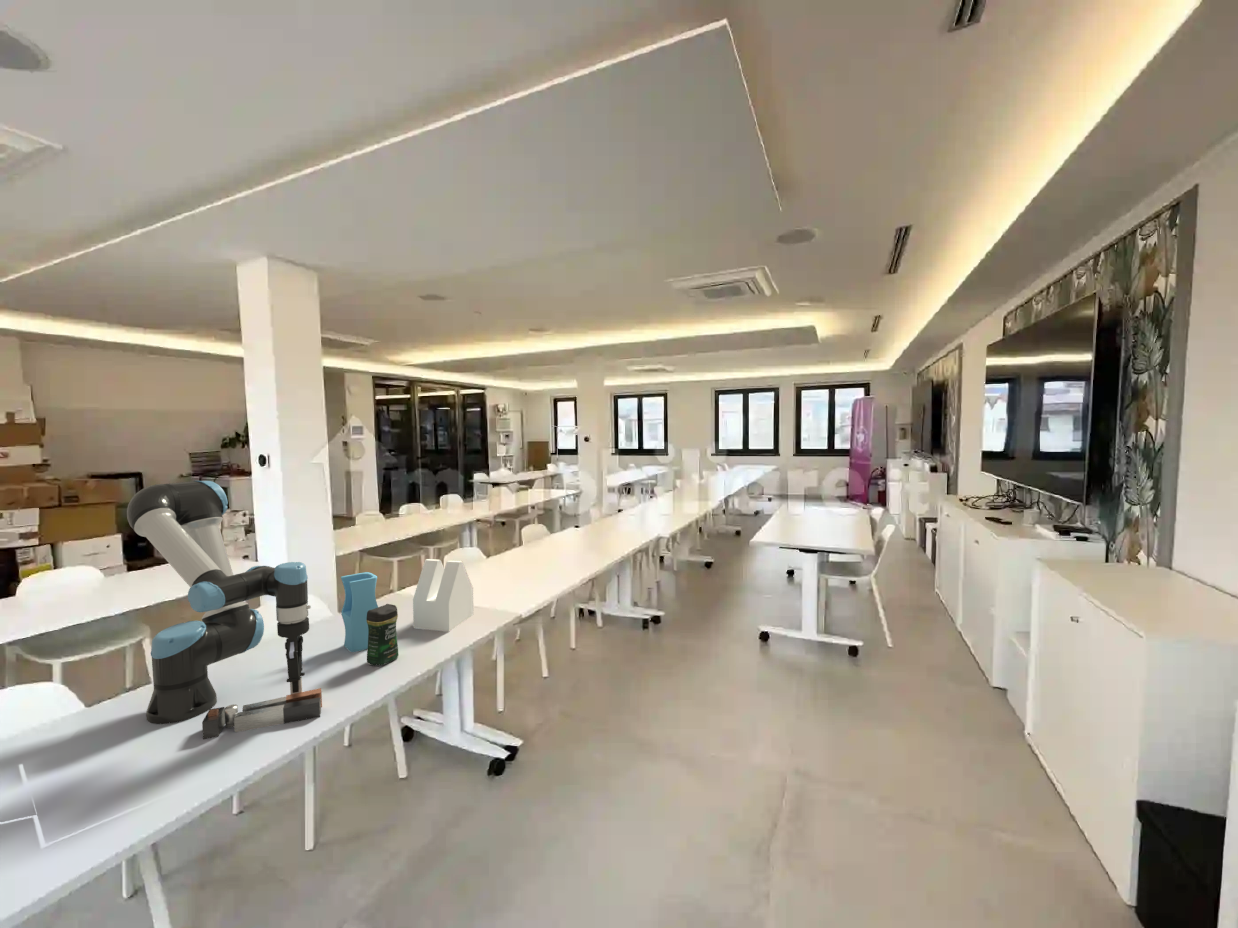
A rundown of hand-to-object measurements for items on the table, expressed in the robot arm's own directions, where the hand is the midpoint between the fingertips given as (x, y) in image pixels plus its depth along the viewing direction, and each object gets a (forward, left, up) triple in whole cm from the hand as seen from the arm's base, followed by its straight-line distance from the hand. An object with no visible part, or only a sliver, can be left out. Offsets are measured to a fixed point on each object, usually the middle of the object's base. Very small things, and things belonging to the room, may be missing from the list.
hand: (296, 701), depth 152 cm
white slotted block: (+45, +54, -2) cm, 70 cm away
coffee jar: (+22, +24, -2) cm, 33 cm away
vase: (+15, +41, -2) cm, 44 cm away
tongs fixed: (-6, -6, -2) cm, 9 cm away
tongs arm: (-5, -3, -2) cm, 6 cm away
